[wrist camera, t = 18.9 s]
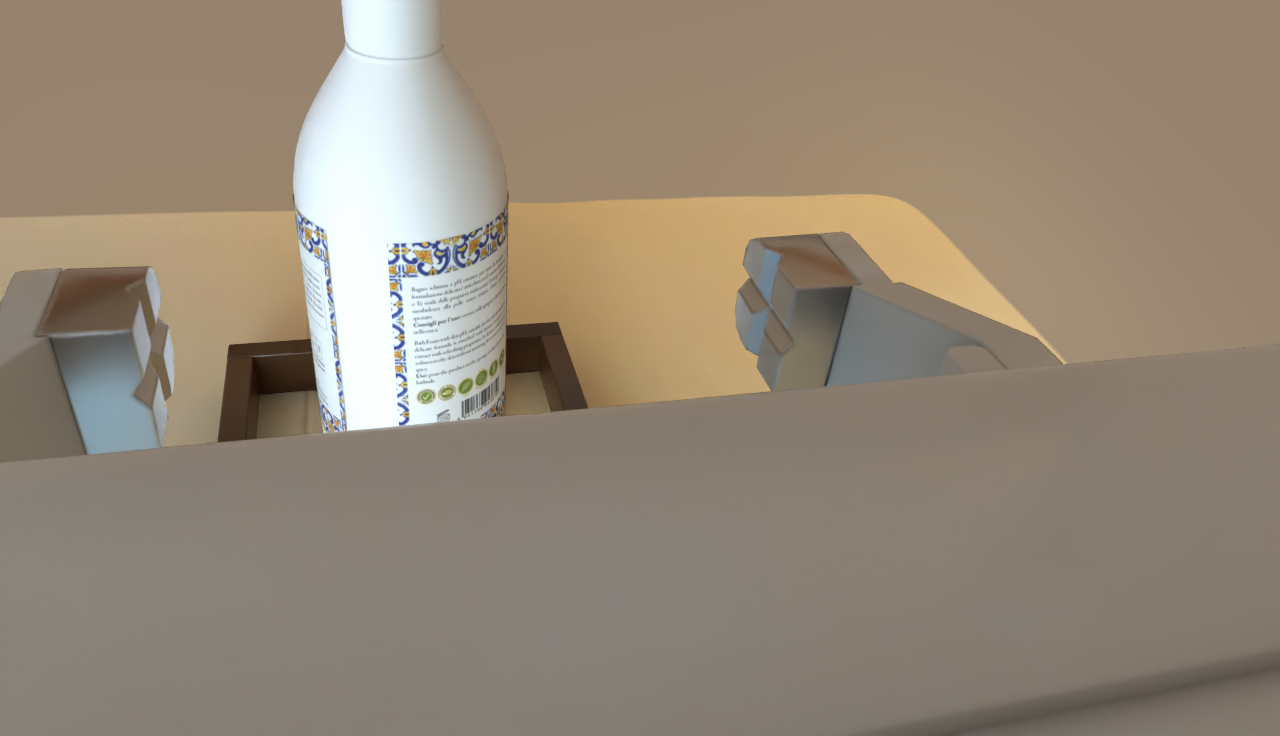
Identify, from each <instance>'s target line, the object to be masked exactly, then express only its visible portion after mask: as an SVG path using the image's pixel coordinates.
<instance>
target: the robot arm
mask: <svg viewBox="0 0 1280 736" xmlns="http://www.w3.org/2000/svg"><path fill="white" fill-rule="evenodd" d="M743 266H744V268H745V269H746V271H747V273H748V274H749V276H750V278H749V279H748V280H747V281H746V282H745V283H744V284H743V286H742V287H741V288H740V289H739V290H738V295H737V302H736V309H735V313H736V326H737V330H738V334H739V337H740V340H741V342H742V343H743V345H744V347H745V349H746V350H748V351H750V352H752V353H753V354H755V355H757V356H759V357H758V362H757V369H758V370H759V372H760V373H761V375H762V377H763V378H764V380H765V382H766V383H767V385H768V386H769V388H770V390H771V392H760V393H749V394H738V395H728V396H717V397H706V398H695V399H685V400H674V401H663V402H652V403H642V404H631V405H620V406H609V407H598V408H588V409H577V410H566V411H555V412H544V413H533V414H522V415H511V416H501V417H490V418H479V419H468V420H457V421H446V422H435V423H424V424H414V425H403V426H392V427H381V428H370V429H359V430H348V431H337V432H327V433H316V434H305V435H294V436H283V437H272V438H261V439H251V440H240V441H229V442H218V443H207V444H196V445H185V446H175V447H164V448H162V447H163V442H164V436H165V431H166V426H167V420H168V414H167V410H166V406H165V400H167V399H168V398H169V397H170V396H172V392H173V386H174V356H173V348H172V341H171V337H170V332H169V327H168V325H166V324H165V323H164V322H163V321H162V320H160V319H159V318H158V312H159V307H160V302H161V297H162V296H161V292H160V288H159V284H158V281H157V277H156V274H155V272H154V270H153V268H152V267H151V266H145V267H112V268H79V269H65V270H63V269H62V268H58V269H43V270H29V271H20V272H16V273H15V274H14V275H13V277H12V279H11V281H10V283H9V285H8V287H7V290H6V292H5V294H4V296H3V298H2V300H1V303H0V736H1280V344H1271V345H1263V346H1253V347H1243V348H1235V349H1224V350H1214V351H1203V352H1192V353H1181V354H1170V355H1159V356H1148V357H1137V358H1126V359H1115V360H1104V361H1094V362H1083V363H1072V364H1063V363H1062V362H1061V361H1060V360H1059V359H1058V358H1057V357H1056V356H1055V355H1054V354H1053V353H1052V352H1051V351H1050V350H1049V349H1048V348H1047V347H1046V346H1045V345H1044V344H1043V343H1042V342H1041V341H1039V340H1038V339H1037V338H1036V337H1033V336H1031V335H1028V334H1026V333H1024V332H1021V331H1019V330H1016V329H1014V328H1011V327H1009V326H1007V325H1004V324H1002V323H999V322H997V321H994V320H992V319H990V318H987V317H985V316H982V315H980V314H977V313H975V312H973V311H970V310H968V309H965V308H963V307H961V306H958V305H956V304H953V303H951V302H948V301H946V300H944V299H941V298H939V297H936V296H934V295H931V294H929V293H927V292H924V291H922V290H919V289H917V288H914V287H912V286H910V285H907V284H905V283H902V282H901V283H893V282H892V281H891V280H890V279H889V278H888V277H887V276H886V274H885V273H884V272H883V271H882V270H881V269H880V268H879V267H878V266H877V264H876V263H875V262H874V261H873V260H872V259H871V258H870V257H869V256H868V254H867V253H866V252H865V251H864V250H863V249H862V248H861V247H860V245H859V244H858V243H857V242H856V241H855V240H854V239H853V238H852V237H851V235H850V234H847V233H844V232H834V233H823V234H806V235H793V236H779V237H765V238H756V239H751V240H750V241H749V243H748V246H747V248H746V250H745V256H744V261H743Z"/></svg>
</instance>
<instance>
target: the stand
mask: <svg viewBox="0 0 1280 736" xmlns="http://www.w3.org/2000/svg"><path fill="white" fill-rule="evenodd" d="M531 371H539V372H540V375H541V379H542V382H543V385H544V388H545V392H546V395H547V398H548V401H549V405H550V408H551V411H552V412H555V411H566V410H577V409H588V406H587V403H586V400H585V398H584V395H583V392H582V389H581V386H580V384H579V381H578V378H577V375H576V372H575V369H574V367H573V364H572V361H571V358H570V355H569V352H568V350H567V347H566V344H565V341H564V338H563V336H562V333H561V330H560V327H559V324H558V322H550V323H536V324H521V325H507V326H506V374H507V373H519V372H531ZM313 389H317V384H316V376H315V368H314V360H313V352H312V344H311V339H305V340H291V341H277V342H262V343H248V344H233V345H229V348H228V356H227V367H226V375H225V384H224V392H223V401H222V409H221V418H220V427H219V435H218V442H229V441H240V440H251V439H256V432H257V417H258V403H259V394H265V393H277V392H289V391H301V390H313Z"/></svg>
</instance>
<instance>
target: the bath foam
mask: <svg viewBox="0 0 1280 736" xmlns="http://www.w3.org/2000/svg"><path fill="white" fill-rule="evenodd" d="M342 11H343V22H344V31H345V38H346V43H345V48H344V50H343V51H342V53H341V55H340V56H339V58H338V60H337V61H336V63H335V65H334V66H333V68H332V70H331V71H330V73H329V75H328V77H327V78H326V80H325V81H324V83H323V85H322V87H321V88H320V90H319V92H318V94H317V96H316V97H315V99H314V101H313V103H312V105H311V107H310V109H309V111H308V114H307V116H306V118H305V121H304V123H303V126H302V128H301V132H300V135H299V139H298V143H297V148H296V154H295V161H294V174H293V192H294V194H293V201H294V210H295V217H296V225H297V233H298V241H299V249H300V257H301V265H302V273H303V281H304V289H305V297H306V304H307V312H308V320H309V328H310V336H311V344H312V352H313V360H314V368H315V376H316V384H317V391H318V399H319V407H320V415H321V421H322V427H323V433H327V432H337V431H348V430H359V429H370V428H381V427H392V426H403V425H414V424H424V423H435V422H446V421H457V420H468V419H479V418H490V417H501V416H505V392H506V325H507V257H508V191H507V179H506V172H505V166H504V161H503V156H502V152H501V149H500V145H499V142H498V139H497V136H496V134H495V131H494V129H493V126H492V124H491V123H490V120H489V118H488V116H487V114H486V113H485V111H484V109H483V107H482V105H481V104H480V102H479V100H478V99H477V97H476V96H475V94H474V92H473V91H472V90H471V88H470V86H469V85H468V83H467V82H466V81H465V79H464V77H463V76H462V74H461V73H460V71H459V70H458V68H457V67H456V65H455V64H454V62H453V61H452V59H451V58H450V56H449V55H448V54H447V52H446V51H445V49H444V44H443V0H342Z"/></svg>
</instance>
